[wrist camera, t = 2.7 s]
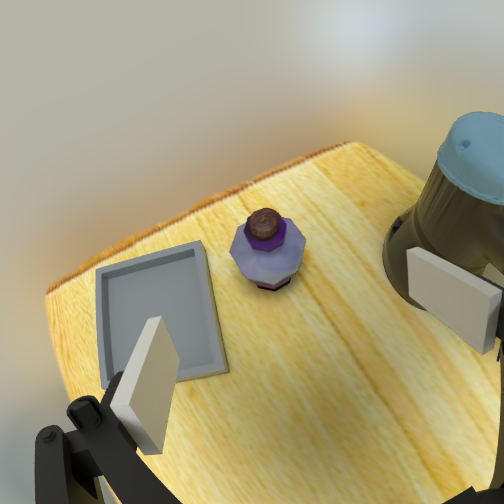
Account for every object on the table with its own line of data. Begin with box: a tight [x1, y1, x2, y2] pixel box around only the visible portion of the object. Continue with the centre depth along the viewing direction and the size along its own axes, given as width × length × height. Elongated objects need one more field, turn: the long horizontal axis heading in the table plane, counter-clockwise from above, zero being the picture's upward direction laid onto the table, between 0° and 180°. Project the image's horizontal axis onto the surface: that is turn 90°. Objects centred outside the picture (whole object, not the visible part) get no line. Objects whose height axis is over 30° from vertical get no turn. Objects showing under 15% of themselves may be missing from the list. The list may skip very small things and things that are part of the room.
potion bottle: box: [229, 208, 306, 291], centre depth 36 cm, size 9×9×12 cm
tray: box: [96, 240, 230, 390], centre depth 38 cm, size 16×17×3 cm
